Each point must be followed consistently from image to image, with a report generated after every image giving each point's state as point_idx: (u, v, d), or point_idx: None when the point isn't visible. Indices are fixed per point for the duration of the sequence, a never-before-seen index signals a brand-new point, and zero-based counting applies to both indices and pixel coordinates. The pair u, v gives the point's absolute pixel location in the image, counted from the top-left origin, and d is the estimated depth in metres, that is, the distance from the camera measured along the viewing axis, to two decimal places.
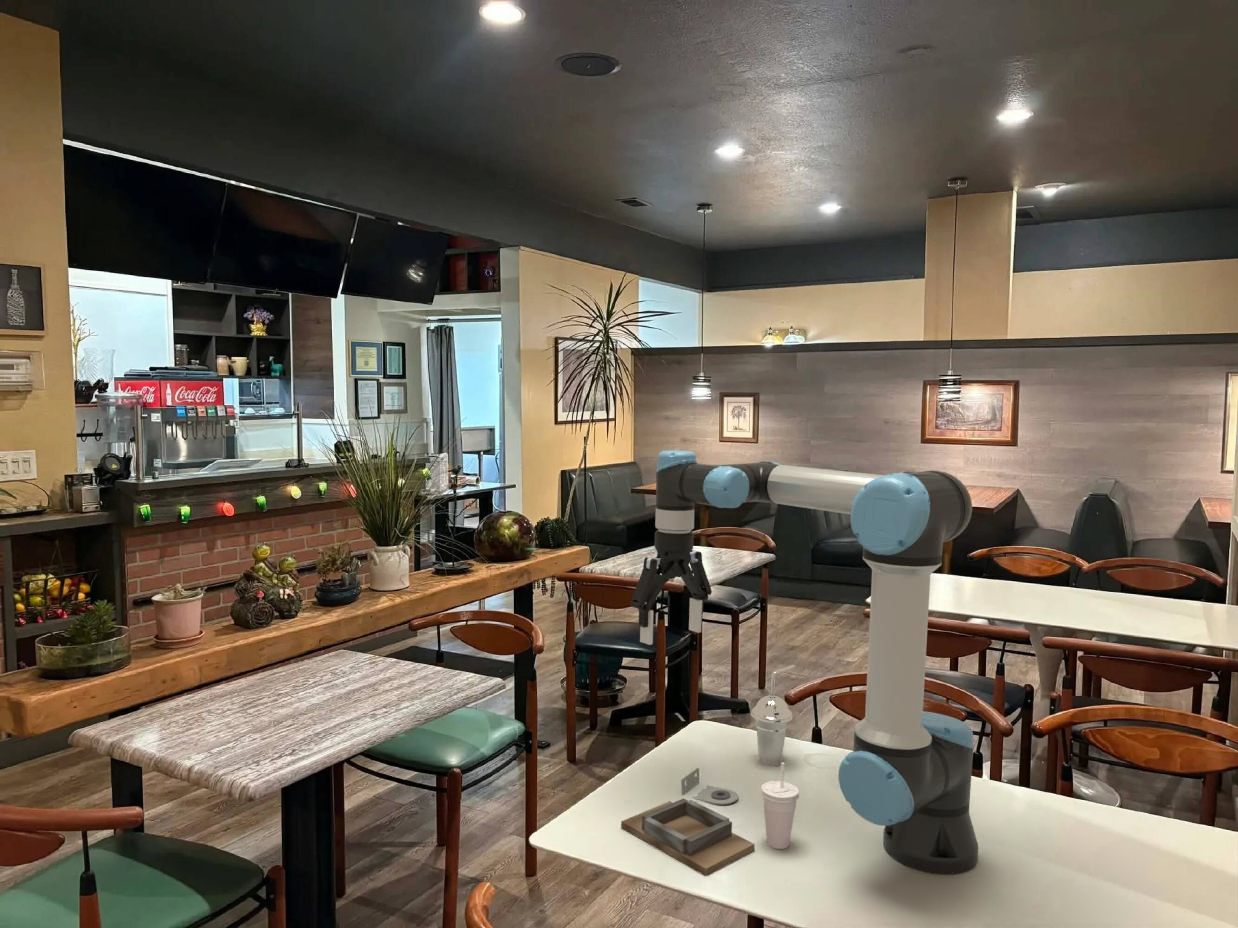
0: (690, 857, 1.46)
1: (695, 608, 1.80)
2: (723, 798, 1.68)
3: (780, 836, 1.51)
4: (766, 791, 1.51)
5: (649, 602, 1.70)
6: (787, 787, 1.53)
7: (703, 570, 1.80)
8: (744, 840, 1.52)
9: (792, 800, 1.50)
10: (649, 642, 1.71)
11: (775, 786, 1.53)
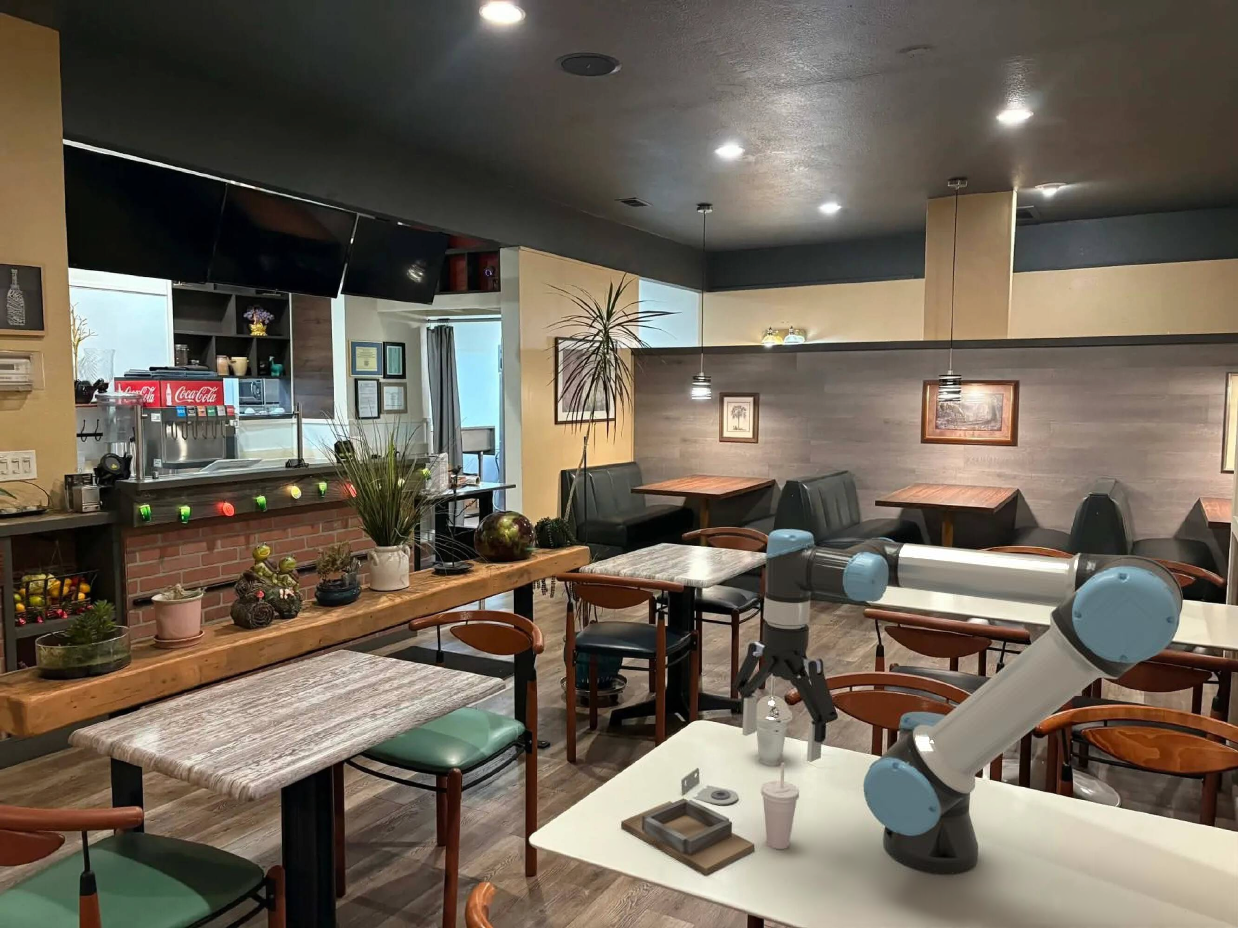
0: (690, 857, 1.46)
1: None
2: (723, 798, 1.68)
3: (780, 836, 1.51)
4: (766, 791, 1.51)
5: (744, 688, 1.56)
6: (787, 787, 1.53)
7: (816, 687, 1.44)
8: (744, 840, 1.52)
9: (792, 800, 1.50)
10: None
11: (775, 786, 1.53)
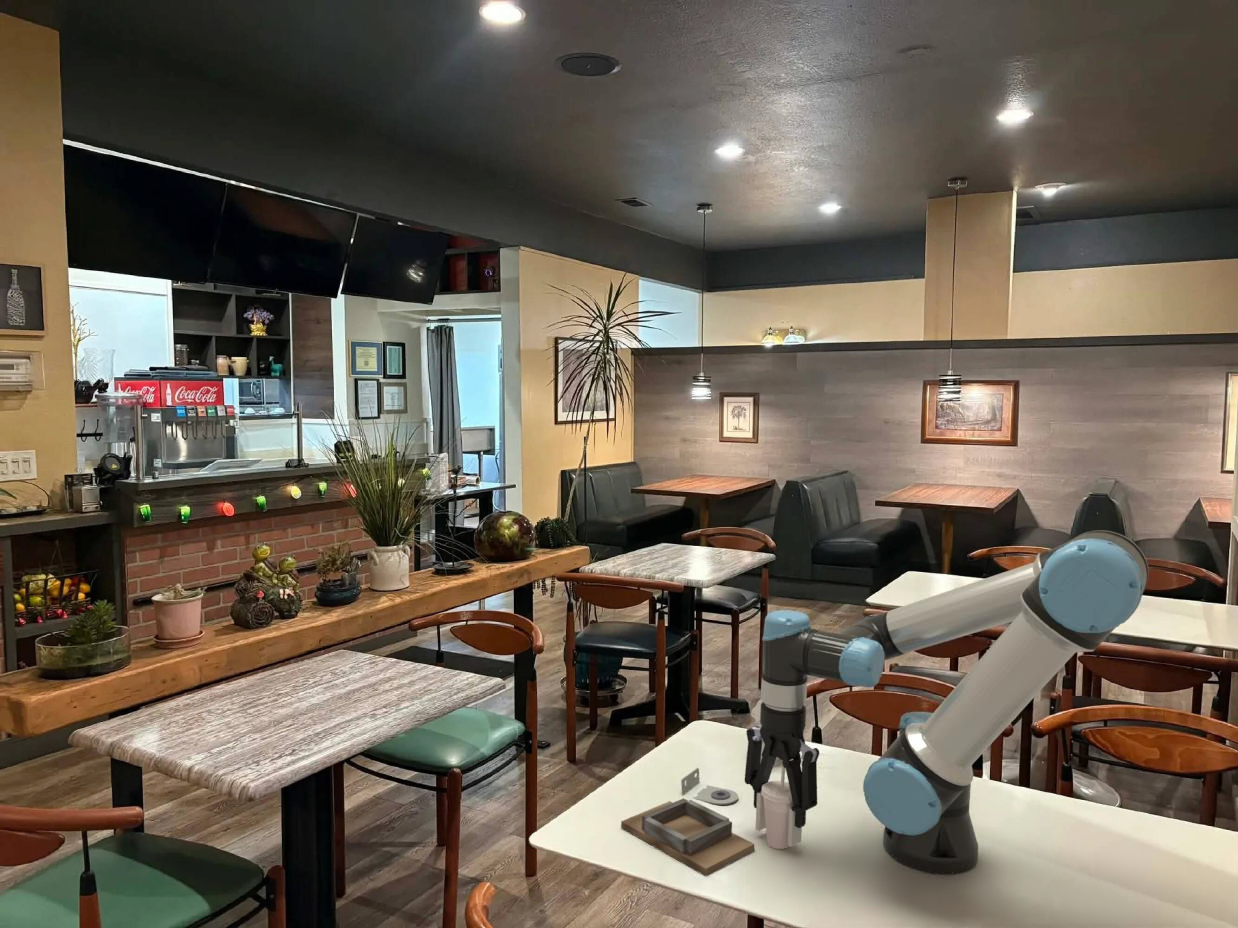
0: (690, 857, 1.46)
1: None
2: (723, 798, 1.68)
3: (780, 836, 1.51)
4: (766, 791, 1.51)
5: (755, 781, 1.55)
6: (787, 787, 1.53)
7: (806, 775, 1.47)
8: (744, 840, 1.52)
9: None
10: None
11: (775, 786, 1.53)
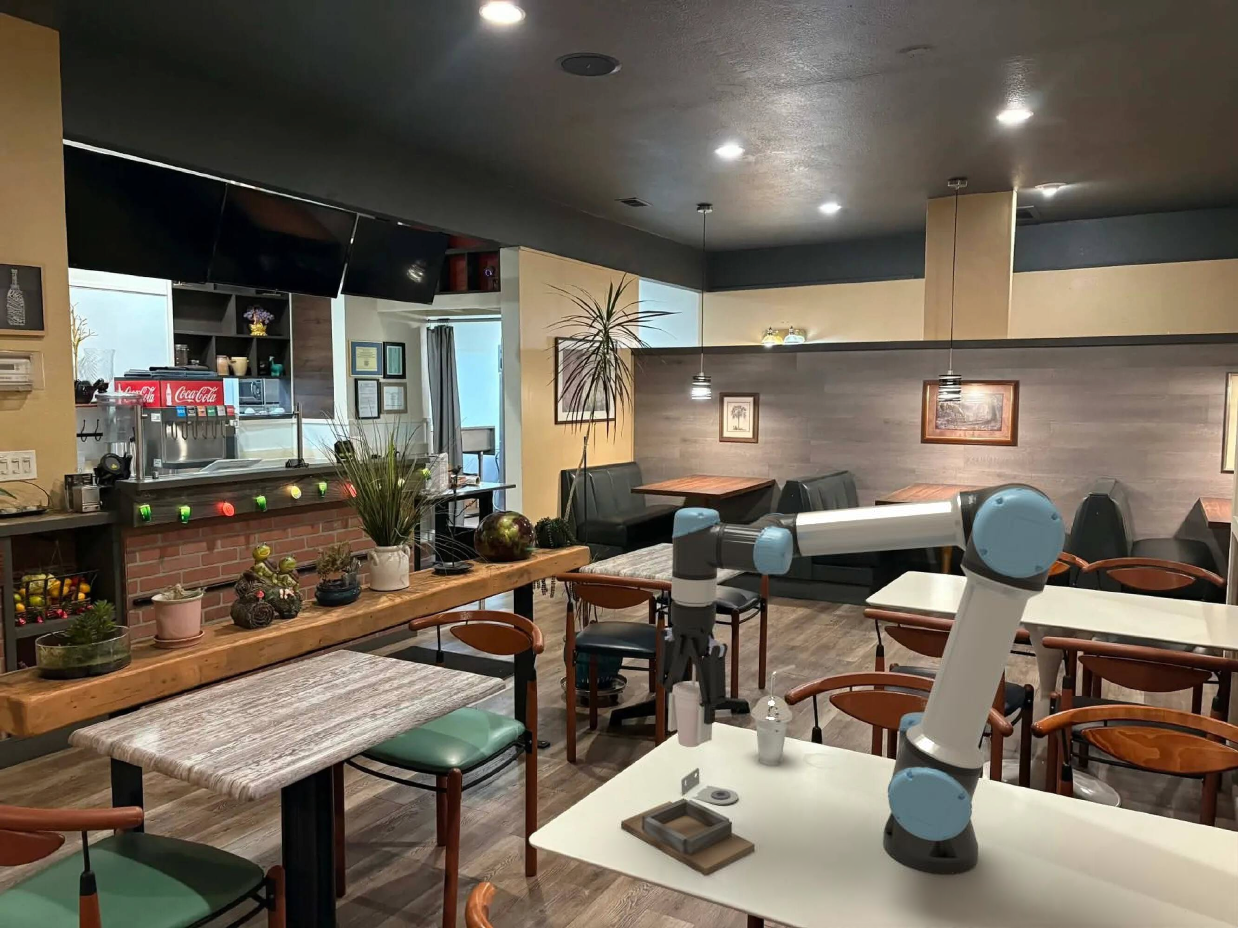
0: (690, 857, 1.46)
1: None
2: (723, 798, 1.68)
3: (690, 733, 1.50)
4: (677, 689, 1.51)
5: (667, 682, 1.54)
6: None
7: (713, 670, 1.46)
8: (744, 840, 1.52)
9: None
10: None
11: (687, 685, 1.52)
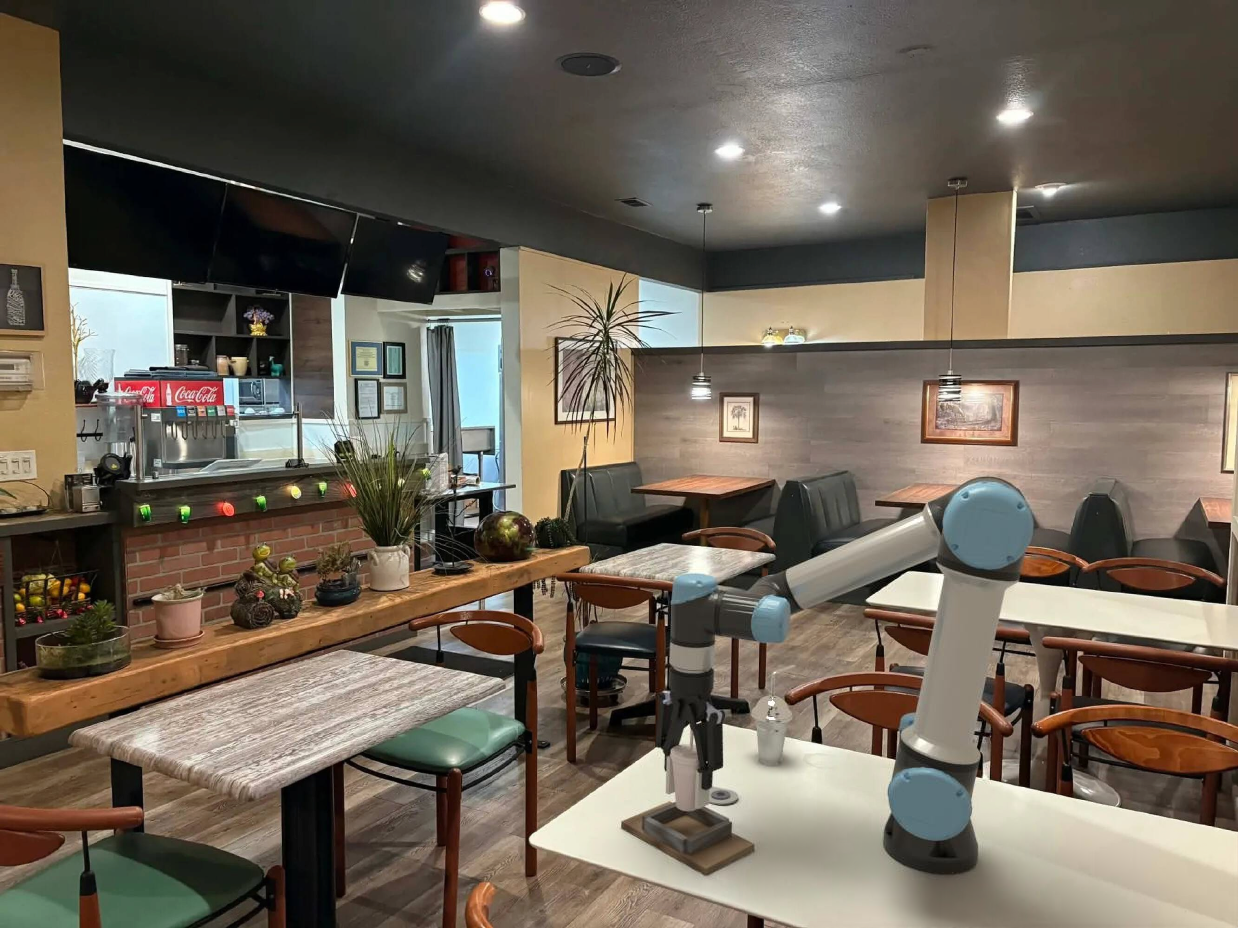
0: (690, 857, 1.46)
1: None
2: (723, 798, 1.68)
3: (688, 798, 1.51)
4: (675, 753, 1.52)
5: (665, 745, 1.55)
6: (696, 750, 1.53)
7: (711, 737, 1.47)
8: (744, 840, 1.52)
9: None
10: None
11: (684, 749, 1.53)
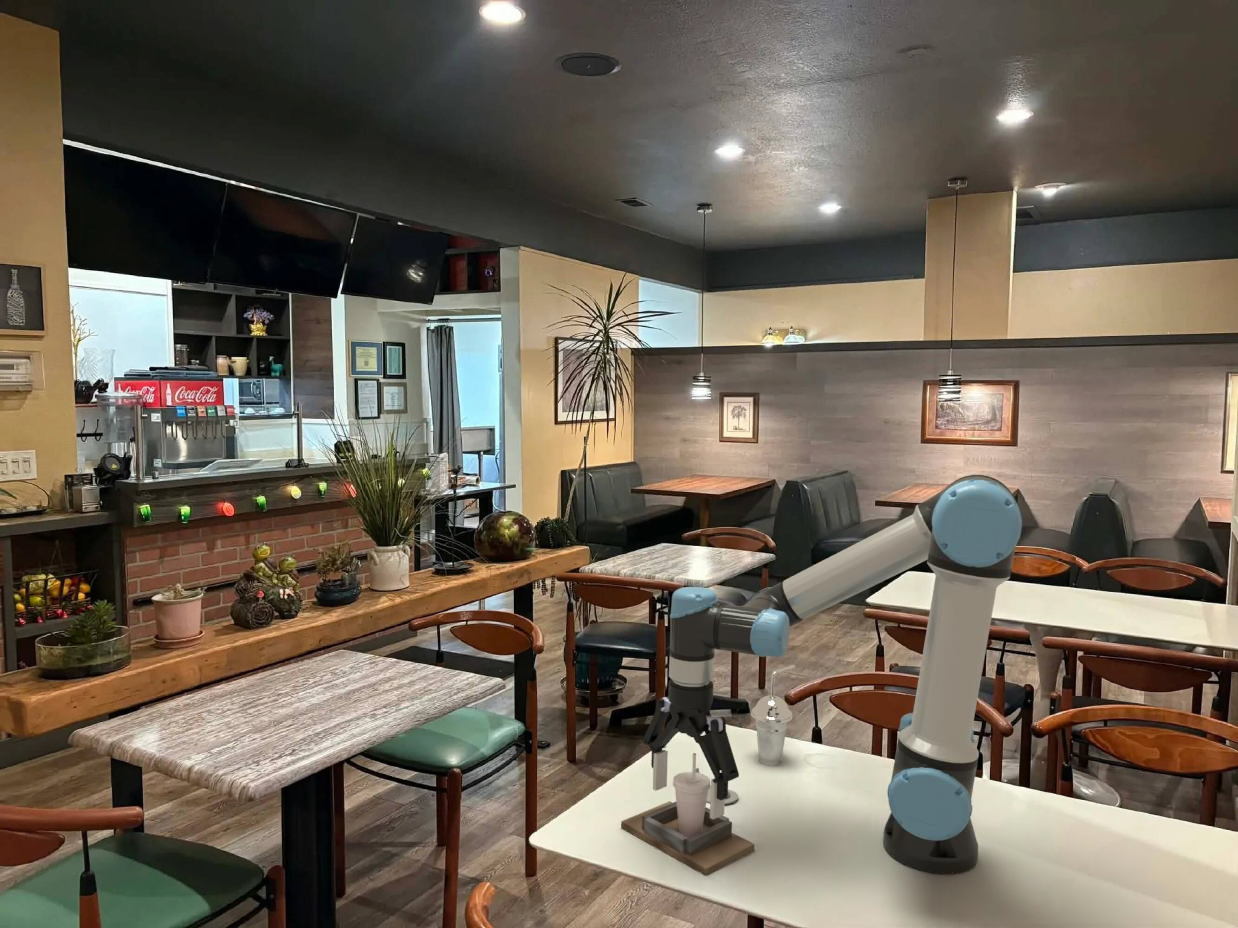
0: (690, 857, 1.46)
1: None
2: None
3: (691, 826, 1.51)
4: (677, 782, 1.51)
5: (653, 743, 1.57)
6: (699, 778, 1.53)
7: (717, 745, 1.46)
8: (744, 840, 1.52)
9: (702, 790, 1.50)
10: None
11: (687, 777, 1.53)
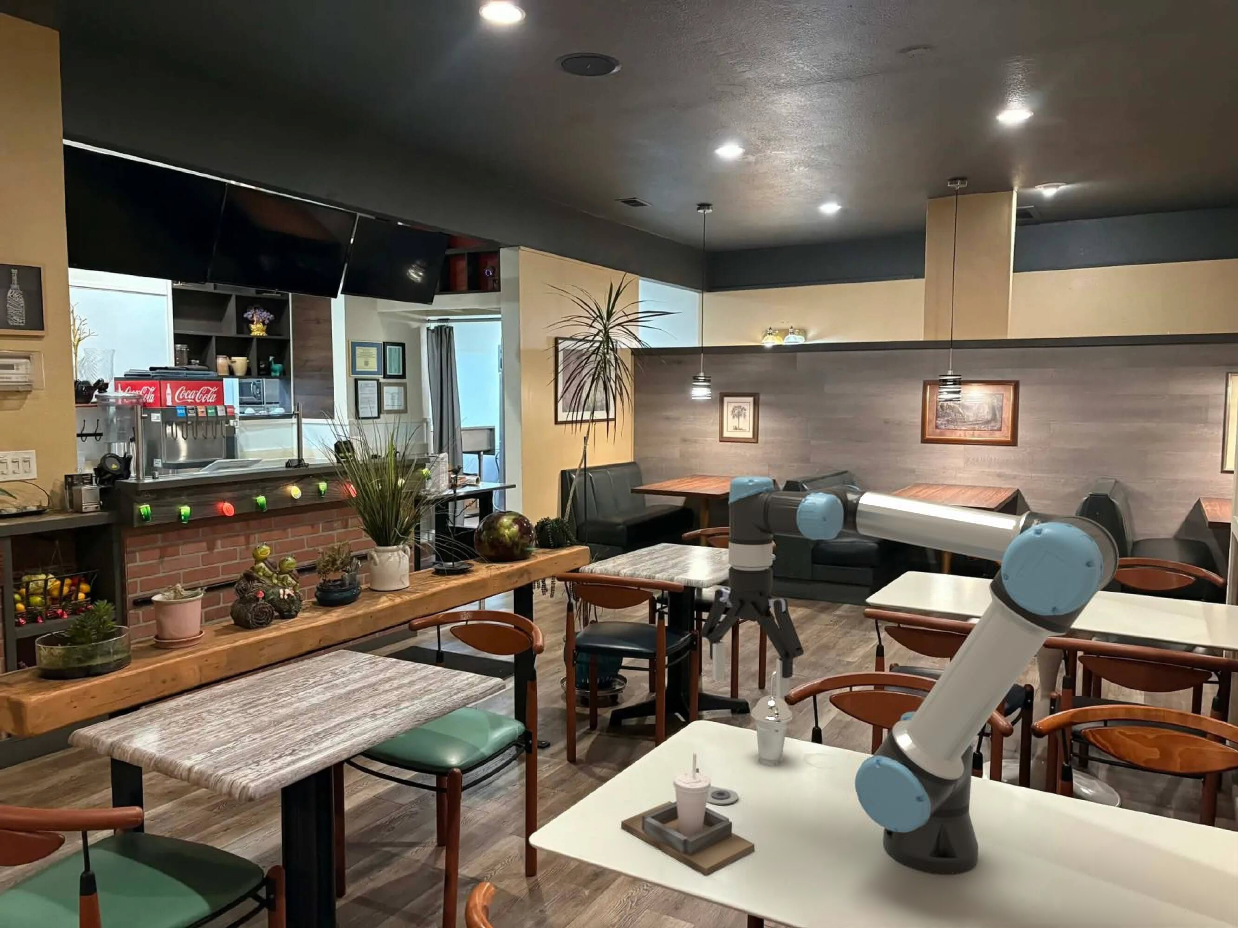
0: (690, 857, 1.46)
1: None
2: (723, 798, 1.68)
3: (691, 826, 1.51)
4: (677, 782, 1.51)
5: (712, 634, 1.61)
6: (699, 778, 1.53)
7: (782, 624, 1.50)
8: (744, 840, 1.52)
9: (703, 790, 1.50)
10: None
11: (687, 777, 1.53)
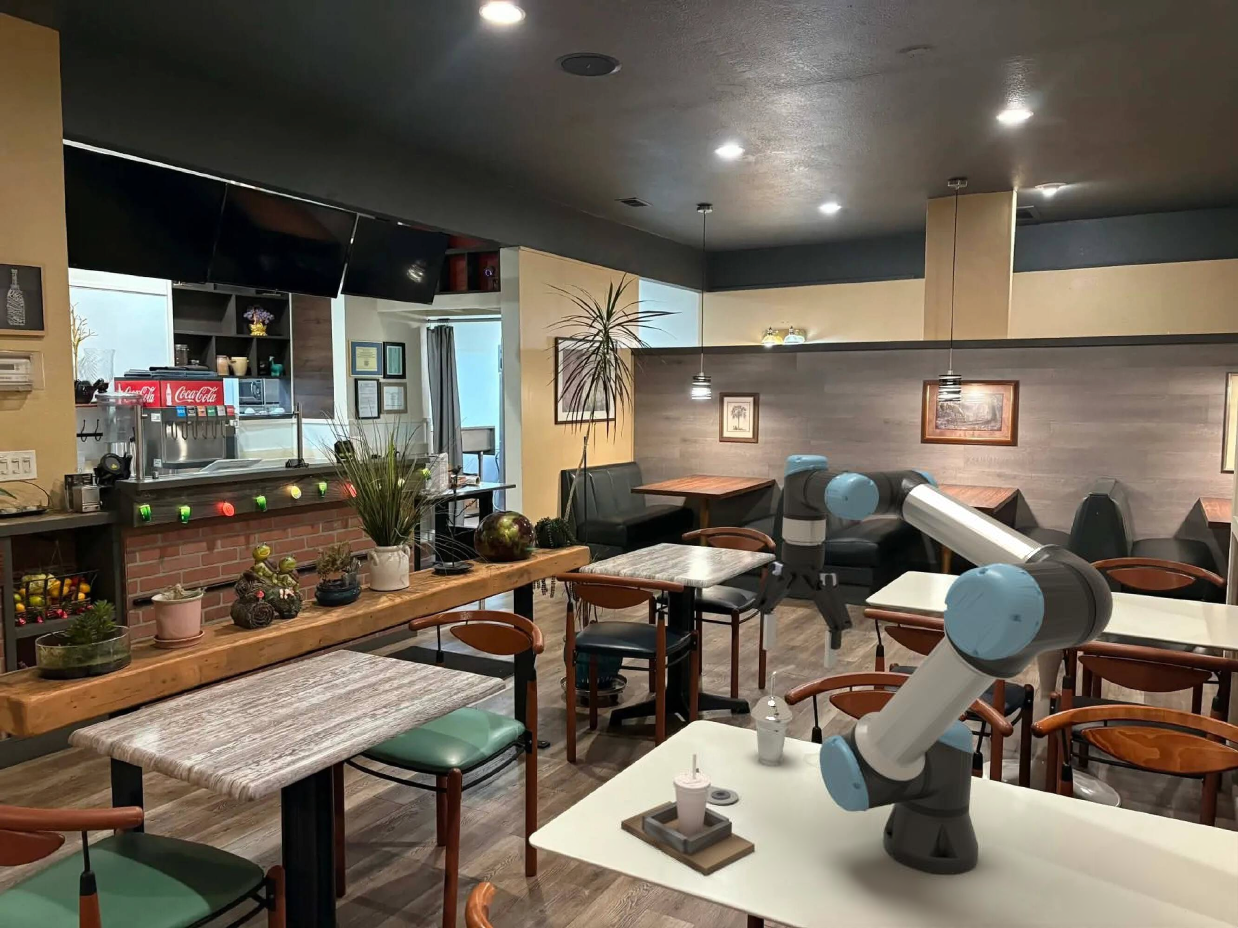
0: (690, 857, 1.46)
1: None
2: (723, 798, 1.68)
3: (691, 826, 1.51)
4: (677, 782, 1.51)
5: (764, 605, 1.67)
6: (699, 778, 1.53)
7: (832, 597, 1.56)
8: (744, 840, 1.52)
9: (703, 791, 1.50)
10: None
11: (687, 777, 1.53)
